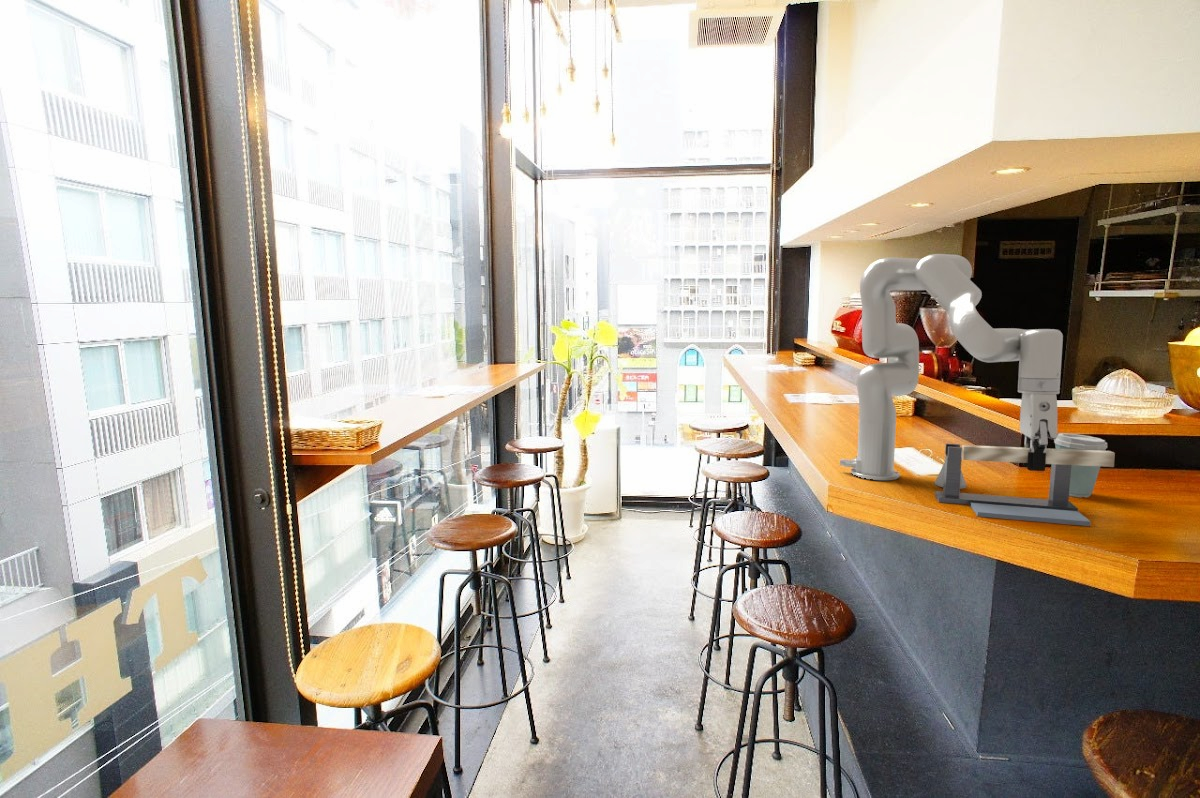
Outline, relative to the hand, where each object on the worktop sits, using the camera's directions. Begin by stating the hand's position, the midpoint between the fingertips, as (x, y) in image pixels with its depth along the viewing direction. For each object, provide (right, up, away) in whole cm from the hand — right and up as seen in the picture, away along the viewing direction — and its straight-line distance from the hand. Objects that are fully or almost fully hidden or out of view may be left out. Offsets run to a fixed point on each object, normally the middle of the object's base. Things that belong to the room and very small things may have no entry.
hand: (1033, 468), depth 140 cm
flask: (-4, -8, +27) cm, 28 cm away
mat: (0, -11, +2) cm, 11 cm away
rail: (0, +1, 0) cm, 1 cm away
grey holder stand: (0, -10, +11) cm, 15 cm away
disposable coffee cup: (+23, -9, +18) cm, 31 cm away
